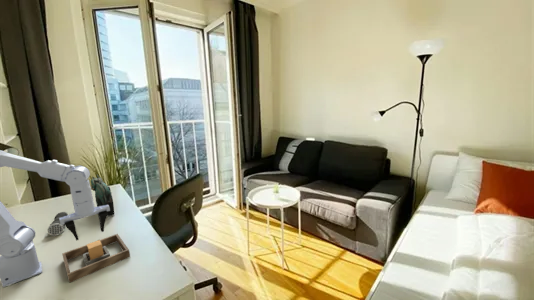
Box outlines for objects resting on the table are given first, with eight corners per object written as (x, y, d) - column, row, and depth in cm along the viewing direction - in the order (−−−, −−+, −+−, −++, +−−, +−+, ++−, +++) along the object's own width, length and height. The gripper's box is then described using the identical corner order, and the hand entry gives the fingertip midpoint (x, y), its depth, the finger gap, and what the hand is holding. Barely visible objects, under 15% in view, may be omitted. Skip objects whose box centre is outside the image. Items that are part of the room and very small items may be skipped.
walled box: (69, 282, 79) (67, 274, 79) (63, 260, 90) (62, 253, 90) (130, 256, 91) (129, 249, 91) (118, 240, 103) (117, 233, 102)
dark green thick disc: (94, 207, 135) (87, 172, 131) (107, 203, 140) (101, 170, 136) (105, 218, 122) (97, 180, 118) (119, 213, 127) (113, 176, 123)
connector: (91, 263, 88) (88, 248, 87) (89, 258, 91) (86, 244, 90) (104, 258, 91) (101, 244, 90) (102, 253, 94) (99, 239, 93)
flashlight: (56, 222, 120) (54, 212, 119) (70, 219, 123) (68, 209, 122) (48, 237, 107) (46, 225, 106) (64, 233, 110) (62, 222, 109)
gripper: (104, 191, 95) (110, 223, 98) (55, 203, 85) (63, 238, 88) (108, 196, 90) (114, 230, 93) (57, 209, 80) (65, 246, 83)
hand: (90, 234), depth 90 cm, fingers open, 7 cm apart
